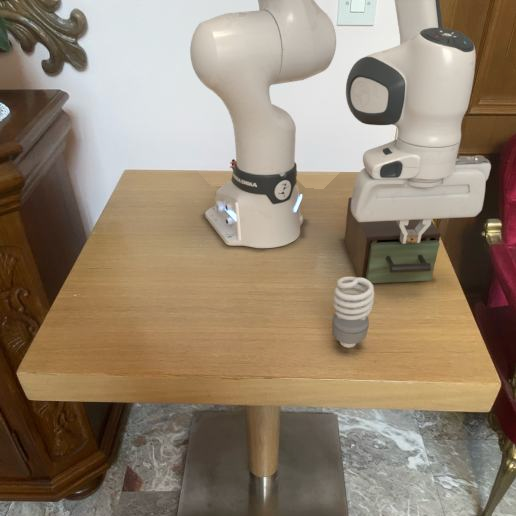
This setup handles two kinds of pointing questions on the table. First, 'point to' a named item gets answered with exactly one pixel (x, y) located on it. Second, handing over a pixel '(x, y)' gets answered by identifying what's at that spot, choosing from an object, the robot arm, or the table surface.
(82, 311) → the table surface
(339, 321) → the light bulb
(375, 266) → the drawer
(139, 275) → the table surface
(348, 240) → the cabinet
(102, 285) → the table surface
